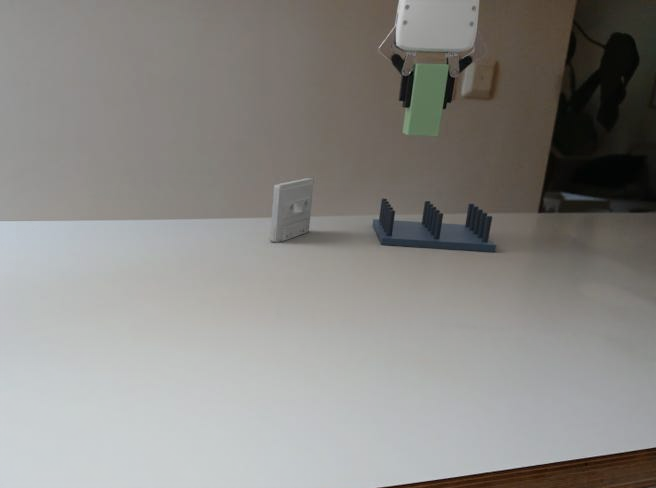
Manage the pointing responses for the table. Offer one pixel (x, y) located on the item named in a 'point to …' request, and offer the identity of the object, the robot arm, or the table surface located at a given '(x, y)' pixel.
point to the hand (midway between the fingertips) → (423, 106)
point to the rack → (435, 230)
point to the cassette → (291, 209)
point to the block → (426, 100)
